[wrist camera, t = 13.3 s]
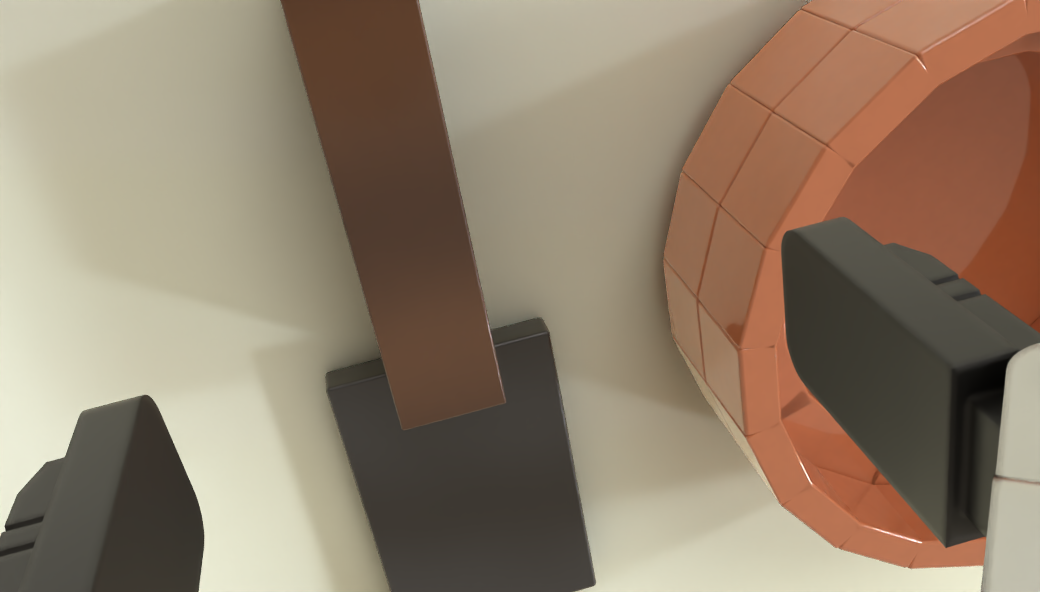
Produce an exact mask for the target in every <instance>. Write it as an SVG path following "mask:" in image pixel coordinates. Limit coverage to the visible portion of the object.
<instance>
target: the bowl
mask: <svg viewBox="0 0 1040 592" xmlns="http://www.w3.org/2000/svg"><path fill="white" fill-rule="evenodd" d="M682 170H683V172H681V174H680V179H679V184H678V189H677V193H676V198H675V203H674V207H673V212H672V217H671V222H670V226H669V231H668V236H667V240H666V245H665V250H664V259H663V265H664V273H665V282H666V290H667V299H668V307H669V316H670V324H671V333H672V337H673V340H674V341H675V343H676V345H677V347H678V349H679V351H680V353H681V355H682V356H683V358H684V360H685V362H686V364H687V366H688V368H689V370H690V371H691V373H692V375H693V377H694V379H695V381H696V383H697V385H698V386H699V388H700V390H701V392H702V394H703V396H704V397H705V399H706V400H707V402H708V403H709V404H710V406H711V407H712V409H713V410H714V411H715V413H716V414H717V416H718V417H719V419H720V420H721V421H722V423H723V424H724V426H725V427H726V428H727V430H728V431H729V433H730V434H731V436H732V437H733V438H734V440H735V441H736V443H737V444H738V445H739V447H740V448H741V450H742V451H743V453H744V454H745V456H746V457H747V458H748V460H749V461H750V463H751V464H752V465H753V467H754V468H755V470H756V471H757V473H758V474H759V475H760V477H761V478H762V480H763V481H764V482H765V484H766V485H767V487H768V488H769V490H770V491H771V492H772V494H773V495H774V497H775V498H776V500H777V501H778V502H779V504H781V506H782V507H784V508H785V509H786V510H787V511H789V512H790V513H791V514H793V515H794V516H795V517H796V518H798V519H799V520H800V521H801V522H803V523H804V524H805V525H807V526H808V527H809V528H810V529H812V530H813V531H814V532H816V533H817V534H818V535H819V536H821V537H822V538H823V539H824V540H826V541H827V542H828V543H830V544H831V545H832V546H833V547H835V548H839V549H841V550H844V551H848V552H851V553H855V554H858V555H862V556H865V557H869V558H872V559H876V560H879V561H883V562H887V563H890V564H894V565H897V566H901V567H904V568H906V567H908V568H910V569H918V568H943V567H967V566H984V557H985V548H986V537H982V538H978V539H975V540H972V541H968V542H965V543H961V544H958V545H955V546H951V547H948V548H945V547H944V546H943V544H942V543H941V542H940V541H939V540H938V539H937V537H936V536H935V535H934V534H933V533H932V532H931V530H930V529H929V528H928V527H927V526H926V525H925V524H924V522H923V521H922V520H921V519H920V518H919V517H918V515H917V514H916V513H915V512H914V511H913V510H912V509H911V507H910V506H909V505H908V504H907V503H906V502H905V500H904V499H903V498H902V497H901V496H900V495H899V493H898V492H897V491H896V490H895V489H894V488H893V487H892V485H891V484H890V483H889V482H888V481H887V480H886V478H885V477H884V476H883V475H882V474H881V473H880V472H879V470H878V469H877V468H876V467H875V466H874V465H873V463H872V462H871V461H870V460H869V459H868V458H867V456H866V455H865V454H864V453H863V452H862V451H861V450H860V448H859V447H858V446H857V445H856V444H855V443H854V441H853V440H852V439H851V438H850V437H849V436H848V435H847V433H846V432H845V431H844V430H843V429H842V428H841V426H840V425H839V424H838V423H837V422H836V421H835V419H834V418H833V417H832V416H831V415H830V414H829V413H828V411H827V410H826V409H825V408H824V407H823V406H822V404H821V403H820V402H819V401H818V400H817V399H816V397H815V396H814V395H813V394H812V393H811V392H810V391H809V389H808V388H807V387H806V386H805V385H804V383H803V382H802V381H801V379H800V378H799V376H798V374H797V372H796V370H795V368H794V365H793V363H792V360H791V357H790V354H789V350H788V345H787V339H786V326H785V309H784V292H783V275H782V258H781V243H782V238H783V236H784V234H785V232H787V231H788V230H792V229H796V228H800V227H804V226H808V225H811V224H815V223H819V222H823V221H827V220H831V219H835V218H839V217H846V218H848V219H850V220H851V221H852V222H854V223H855V224H856V225H858V226H859V227H860V228H862V229H863V230H864V231H866V232H867V233H868V234H869V235H871V236H872V237H873V238H875V239H876V240H877V241H879V242H880V243H881V244H883V245H886V244H890V243H896V244H899V245H902V246H905V247H908V248H911V249H914V250H917V251H921V252H924V253H927V254H930V255H932V256H933V257H935V258H936V259H938V260H939V261H940V262H942V263H943V264H945V265H946V266H947V267H949V268H950V269H951V270H953V271H954V272H956V273H957V274H958V277H959V279H961V278H964V279H965V280H967V281H968V282H970V283H971V284H972V285H974V286H975V287H976V288H978V289H979V290H980V293H981V295H983V294H986V295H988V296H989V297H990V298H992V299H993V300H994V301H996V302H997V303H999V304H1000V305H1001V306H1003V307H1004V308H1006V309H1007V310H1008V311H1010V312H1011V313H1013V314H1014V315H1015V316H1017V317H1018V318H1019V319H1021V320H1022V321H1024V322H1025V323H1026V324H1028V325H1029V326H1031V327H1032V328H1033V329H1035V330H1036V331H1037V332H1039V333H1040V0H813V1H811V2H809V3H808V4H806V5H804V6H803V7H802V8H801V10H799V11H797V12H796V13H795V14H794V15H793V16H792V18H791V19H790V20H789V21H788V22H787V23H786V24H785V25H784V26H783V27H782V28H781V29H780V30H779V31H778V32H777V33H776V34H775V35H774V36H773V37H772V38H771V39H770V40H769V42H768V43H767V44H766V45H765V46H764V47H763V48H762V49H761V50H760V51H759V52H758V53H757V54H756V55H755V56H754V57H753V58H752V59H751V60H750V61H749V62H748V63H747V64H746V66H745V67H744V68H743V69H742V70H741V71H740V72H739V73H738V74H737V75H736V76H735V77H734V78H733V79H732V80H731V82H730V84H728V85H727V86H726V88H725V90H724V92H723V94H722V95H721V97H720V99H719V101H718V103H717V105H716V107H715V108H714V110H713V112H712V114H711V116H710V118H709V119H708V121H707V123H706V125H705V127H704V129H703V131H702V132H701V134H700V136H699V138H698V140H697V142H696V144H695V145H694V147H693V149H692V151H691V153H690V155H689V156H688V158H687V160H686V162H685V164H684V166H683V168H682Z"/></svg>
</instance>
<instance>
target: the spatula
mask: <svg viewBox="0 0 1040 592" xmlns="http://www.w3.org/2000/svg"><path fill="white" fill-rule="evenodd" d="M280 2H281V5H282V9H283V12H284V16H285V19H286V23H287V27H288V30H289V34H290V37H291V41H292V44H293V48H294V51H295V55H296V58H297V62H298V65H299V69H300V72H301V76H302V79H303V83H304V86H305V90H306V93H307V97H308V101H309V104H310V108H311V111H312V115H313V118H314V122H315V125H316V129H317V132H318V136H319V139H320V143H321V146H322V150H323V153H324V157H325V160H326V164H327V167H328V171H329V175H330V178H331V182H332V185H333V189H334V192H335V196H336V199H337V203H338V206H339V210H340V213H341V217H342V220H343V224H344V227H345V231H346V234H347V238H348V241H349V245H350V248H351V252H352V256H353V259H354V263H355V266H356V270H357V273H358V277H359V280H360V284H361V287H362V291H363V294H364V298H365V301H366V305H367V308H368V312H369V315H370V319H371V322H372V326H373V330H374V333H375V337H376V340H377V344H378V347H379V351H380V354H381V358H382V359H378V360H374V361H370V362H366V363H363V364H359V365H355V366H351V367H347V368H343V369H340V370H336V371H332V372H328V373H327V374H326V376H325V379H326V392H327V395H328V398H329V401H330V404H331V407H332V410H333V413H334V417H335V420H336V423H337V426H338V429H339V432H340V435H341V438H342V441H343V445H344V448H345V451H346V454H347V457H348V460H349V463H350V466H351V469H352V473H353V476H354V479H355V482H356V485H357V488H358V491H359V494H360V497H361V501H362V504H363V507H364V510H365V513H366V516H367V519H368V522H369V526H370V529H371V532H372V535H373V538H374V541H375V544H376V547H377V550H378V554H379V557H380V560H381V563H382V566H383V569H384V572H385V575H386V578H387V582H388V585H389V588H390V591H391V592H575V591H578V590H582V589H585V588H589V587H592V586H594V585H595V584H596V580H595V574H594V569H593V564H592V558H591V553H590V547H589V542H588V537H587V531H586V526H585V521H584V515H583V510H582V504H581V499H580V494H579V488H578V483H577V477H576V472H575V467H574V461H573V456H572V451H571V445H570V440H569V434H568V429H567V424H566V418H565V413H564V408H563V402H562V397H561V391H560V386H559V381H558V375H557V370H556V365H555V359H554V354H553V348H552V343H551V338H550V332H549V330H548V328H547V326H546V324H545V322H544V320H543V319H542V318H535V319H531V320H527V321H524V322H520V323H516V324H512V325H508V326H504V327H501V328H497V329H493V330H491V329H490V325H489V320H488V315H487V311H486V306H485V302H484V297H483V293H482V288H481V283H480V279H479V274H478V270H477V265H476V260H475V256H474V251H473V247H472V242H471V238H470V233H469V228H468V224H467V219H466V215H465V210H464V206H463V201H462V196H461V192H460V187H459V183H458V178H457V174H456V169H455V164H454V160H453V155H452V151H451V146H450V142H449V137H448V132H447V128H446V123H445V119H444V114H443V109H442V105H441V100H440V96H439V91H438V87H437V82H436V77H435V73H434V68H433V64H432V59H431V55H430V50H429V45H428V41H427V36H426V32H425V27H424V23H423V18H422V13H421V9H420V4H419V0H280Z"/></svg>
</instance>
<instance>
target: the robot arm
mask: <svg viewBox="0 0 1040 592" xmlns="http://www.w3.org/2000/svg"><path fill="white" fill-rule="evenodd" d="M781 258H782V275H783V292H784V309H785V326H786V339H787V345H788V350H789V354H790V357H791V360H792V363H793V365H794V368H795V370H796V372H797V374H798V376H799V378H800V379H801V381H802V382H803V383H804V385H805V386H806V387H807V388H808V389H809V391H810V392H811V393H812V394H813V395H814V396H815V397H816V399H817V400H818V401H819V402H820V403H821V404H822V406H823V407H824V408H825V409H826V410H827V411H828V413H829V414H830V415H831V416H832V417H833V418H834V419H835V421H836V422H837V423H838V424H839V425H840V426H841V428H842V429H843V430H844V431H845V432H846V433H847V435H848V436H849V437H850V438H851V439H852V440H853V441H854V443H855V444H856V445H857V446H858V447H859V448H860V450H861V451H862V452H863V453H864V454H865V455H866V456H867V458H868V459H869V460H870V461H871V462H872V463H873V465H874V466H875V467H876V468H877V469H878V470H879V472H880V473H881V474H882V475H883V476H884V477H885V478H886V480H887V481H888V482H889V483H890V484H891V485H892V487H893V488H894V489H895V490H896V491H897V492H898V493H899V495H900V496H901V497H902V498H903V499H904V500H905V502H906V503H907V504H908V505H909V506H910V507H911V509H912V510H913V511H914V512H915V513H916V514H917V515H918V517H919V518H920V519H921V520H922V521H923V522H924V524H925V525H926V526H927V527H928V528H929V529H930V530H931V532H932V533H933V534H934V535H935V536H936V537H937V539H938V540H939V541H940V542H941V543H942V544H943V546H944V547H945V548H948V547H951V546H955V545H958V544H961V543H965V542H968V541H972V540H975V539H978V538H982V537H986V548H985V557H984V566H983V576H982V585H981V592H1040V333H1039V332H1037V331H1036V330H1035V329H1033V328H1032V327H1031V326H1029V325H1028V324H1026V323H1025V322H1024V321H1022V320H1021V319H1019V318H1018V317H1017V316H1015V315H1014V314H1013V313H1011V312H1010V311H1008V310H1007V309H1006V308H1004V307H1003V306H1001V305H1000V304H999V303H997V302H996V301H994V300H993V299H992V298H990V297H989V296H988V295H986V294H983V295H981V293H980V290H979V289H978V288H976V287H975V286H974V285H972V284H971V283H970V282H968V281H967V280H965V279H964V278H961V279H959V277H958V274H957V273H956V272H954V271H953V270H951V269H950V268H949V267H947V266H946V265H945V264H943V263H942V262H940V261H939V260H938V259H936V258H935V257H933V256H932V255H930V254H927V253H924V252H921V251H917V250H914V249H911V248H908V247H905V246H902V245H899V244H896V243H890V244H886V245H883V244H881V243H880V242H879V241H877V240H876V239H875V238H873V237H872V236H871V235H869V234H868V233H867V232H866V231H864V230H863V229H862V228H860V227H859V226H858V225H856V224H855V223H854V222H852V221H851V220H850V219H848V218H846V217H839V218H835V219H831V220H827V221H823V222H819V223H815V224H811V225H808V226H804V227H800V228H796V229H792V230H788V231H787V232H785V234H784V236H783V238H782V243H781ZM5 529H6V532H3V533H2V534H1V536H0V592H198V591H199V583H200V575H201V567H202V558H203V550H204V528H203V521H202V515H201V511H200V507H199V503H198V500H197V497H196V495H195V492H194V490H193V487H192V485H191V483H190V480H189V478H188V476H187V473H186V471H185V469H184V466H183V464H182V462H181V460H180V457H179V455H178V453H177V450H176V448H175V446H174V443H173V441H172V439H171V436H170V434H169V432H168V429H167V427H166V425H165V422H164V420H163V418H162V415H161V413H160V411H159V409H158V407H157V405H156V403H155V402H154V401H153V399H152V398H151V397H150V396H148V395H142V396H138V397H134V398H130V399H126V400H122V401H119V402H115V403H111V404H107V405H103V406H99V407H95V408H91V409H88V410H84V411H83V412H82V413H81V414H80V416H79V418H78V421H77V424H76V427H75V430H74V433H73V436H72V438H71V441H70V444H69V447H68V450H67V453H66V456H65V458H61V459H57V460H54V461H50V462H46V463H45V464H44V465H43V467H42V468H41V469H40V470H39V471H38V472H37V473H36V474H35V475H34V477H33V478H32V479H31V480H30V481H29V482H28V483H27V484H26V485H25V487H24V488H23V489H22V490H21V491H20V492H19V493H18V494H17V496H16V499H15V501H14V504H13V506H12V509H11V511H10V514H9V516H8V519H7V521H6V524H5Z"/></svg>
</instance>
